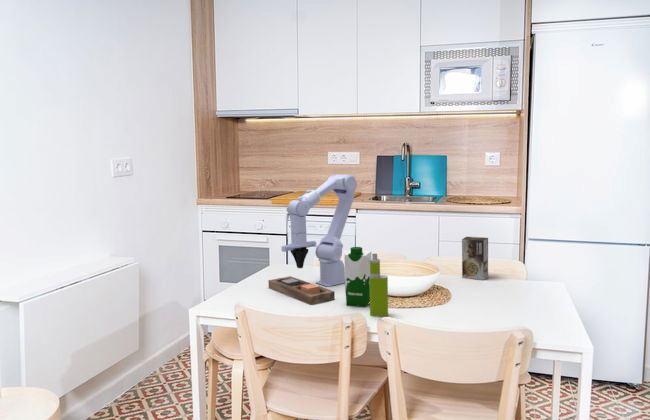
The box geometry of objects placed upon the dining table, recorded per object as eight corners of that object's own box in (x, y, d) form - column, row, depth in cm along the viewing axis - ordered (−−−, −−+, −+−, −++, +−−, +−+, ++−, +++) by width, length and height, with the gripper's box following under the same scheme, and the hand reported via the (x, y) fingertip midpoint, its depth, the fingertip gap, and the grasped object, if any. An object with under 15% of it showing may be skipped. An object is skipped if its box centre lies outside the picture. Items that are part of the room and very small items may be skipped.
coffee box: (488, 277, 228) (489, 237, 226) (483, 280, 222) (484, 240, 220) (466, 274, 232) (466, 236, 230) (461, 278, 227) (461, 238, 225)
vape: (370, 312, 185) (369, 252, 183) (388, 313, 184) (387, 252, 182) (369, 316, 182) (368, 255, 179) (387, 316, 181) (386, 255, 178)
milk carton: (343, 306, 193) (341, 248, 191) (350, 298, 202) (349, 243, 199) (368, 308, 190) (367, 249, 188) (374, 300, 199) (373, 244, 196)
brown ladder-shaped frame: (290, 283, 226) (290, 276, 225) (334, 299, 201) (334, 291, 201) (268, 287, 220) (268, 280, 219) (311, 305, 195) (311, 296, 195)
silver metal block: (292, 287, 220) (292, 278, 219) (299, 289, 216) (299, 280, 215) (281, 289, 217) (281, 280, 216) (288, 291, 213) (287, 283, 212)
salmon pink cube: (312, 292, 208) (312, 283, 208) (320, 295, 204) (319, 286, 204) (301, 294, 205) (300, 285, 205) (308, 297, 201) (308, 288, 201)
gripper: (308, 228, 219) (309, 263, 220) (276, 233, 210) (278, 269, 212) (319, 230, 213) (320, 266, 215) (286, 235, 204) (288, 272, 206)
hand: (300, 267), depth 213 cm, fingers closed
